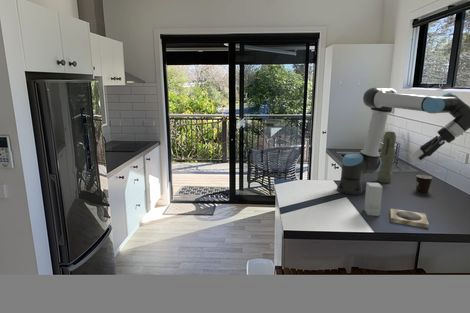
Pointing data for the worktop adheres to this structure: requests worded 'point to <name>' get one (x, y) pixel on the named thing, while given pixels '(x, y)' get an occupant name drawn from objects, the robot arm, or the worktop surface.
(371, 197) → the skincare box
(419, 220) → the birch board
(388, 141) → the olive green tapered column
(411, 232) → the worktop surface
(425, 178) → the coffee mug
